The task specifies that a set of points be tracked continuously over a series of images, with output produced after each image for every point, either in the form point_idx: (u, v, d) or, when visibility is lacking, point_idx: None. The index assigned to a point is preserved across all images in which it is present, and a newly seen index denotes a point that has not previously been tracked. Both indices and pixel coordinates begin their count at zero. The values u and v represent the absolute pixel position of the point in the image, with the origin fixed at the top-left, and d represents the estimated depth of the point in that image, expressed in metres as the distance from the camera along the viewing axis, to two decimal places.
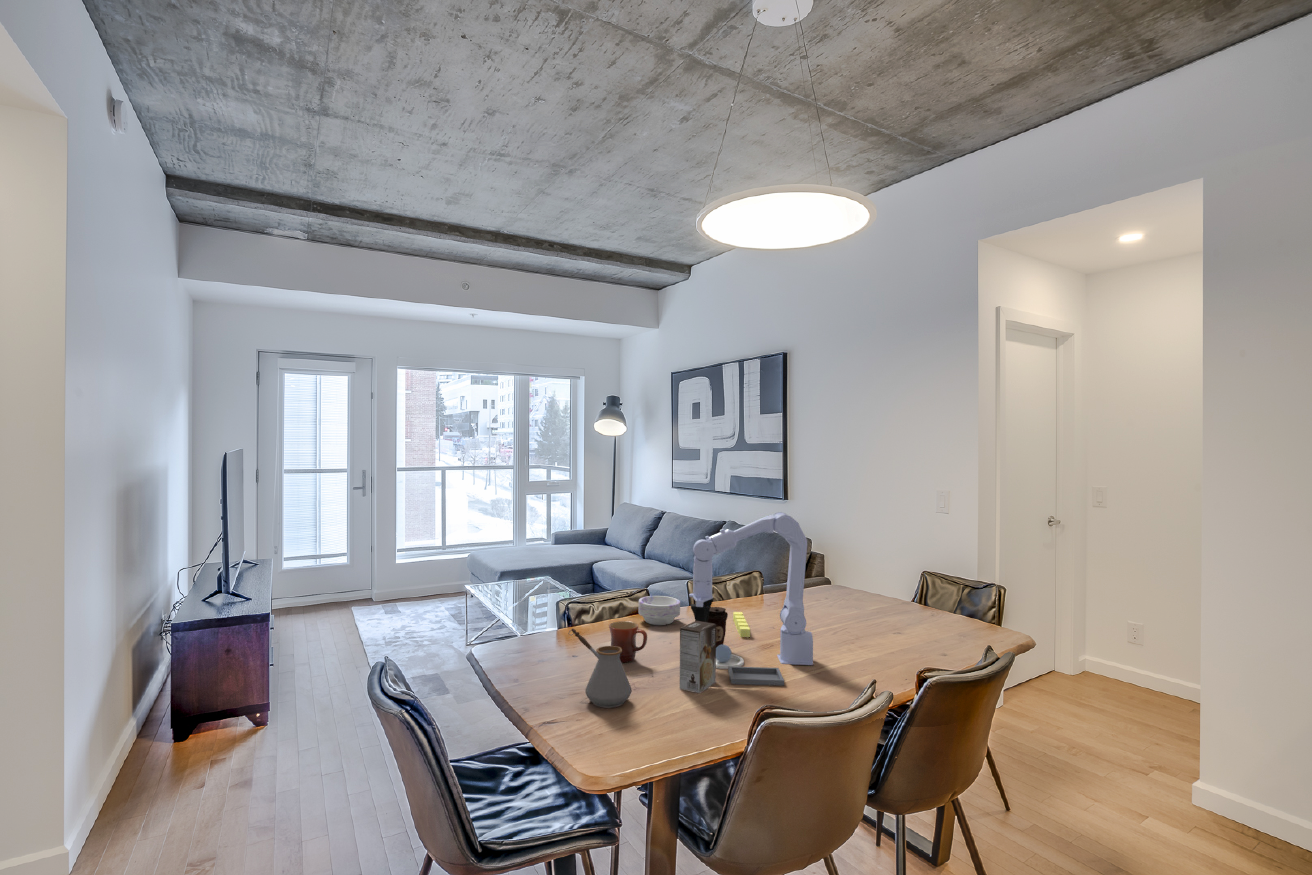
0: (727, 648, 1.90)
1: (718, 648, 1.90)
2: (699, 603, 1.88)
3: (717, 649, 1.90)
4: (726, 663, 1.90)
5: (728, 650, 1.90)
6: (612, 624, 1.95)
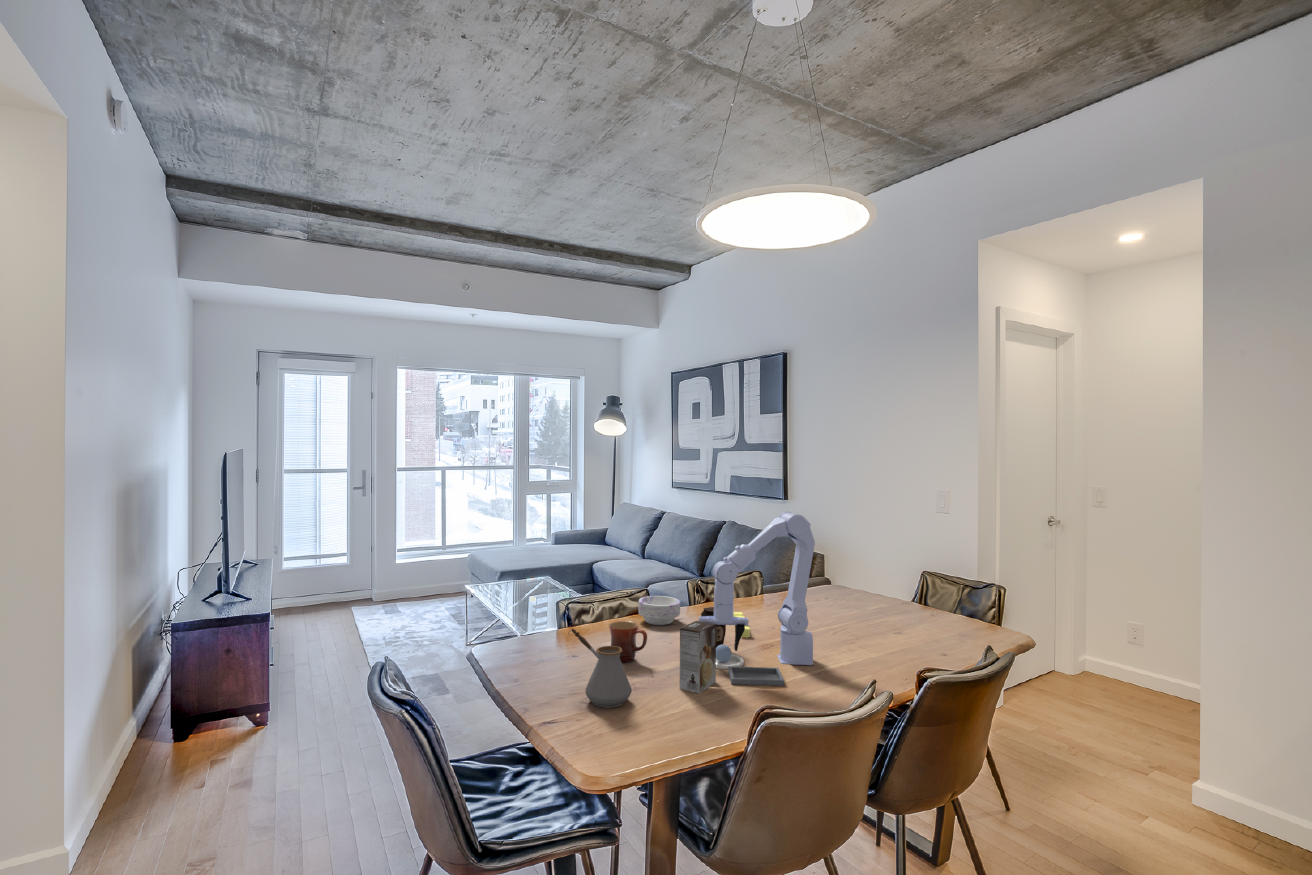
0: (727, 648, 1.90)
1: (718, 648, 1.90)
2: None
3: (717, 649, 1.90)
4: (726, 663, 1.90)
5: (728, 650, 1.90)
6: (612, 624, 1.95)
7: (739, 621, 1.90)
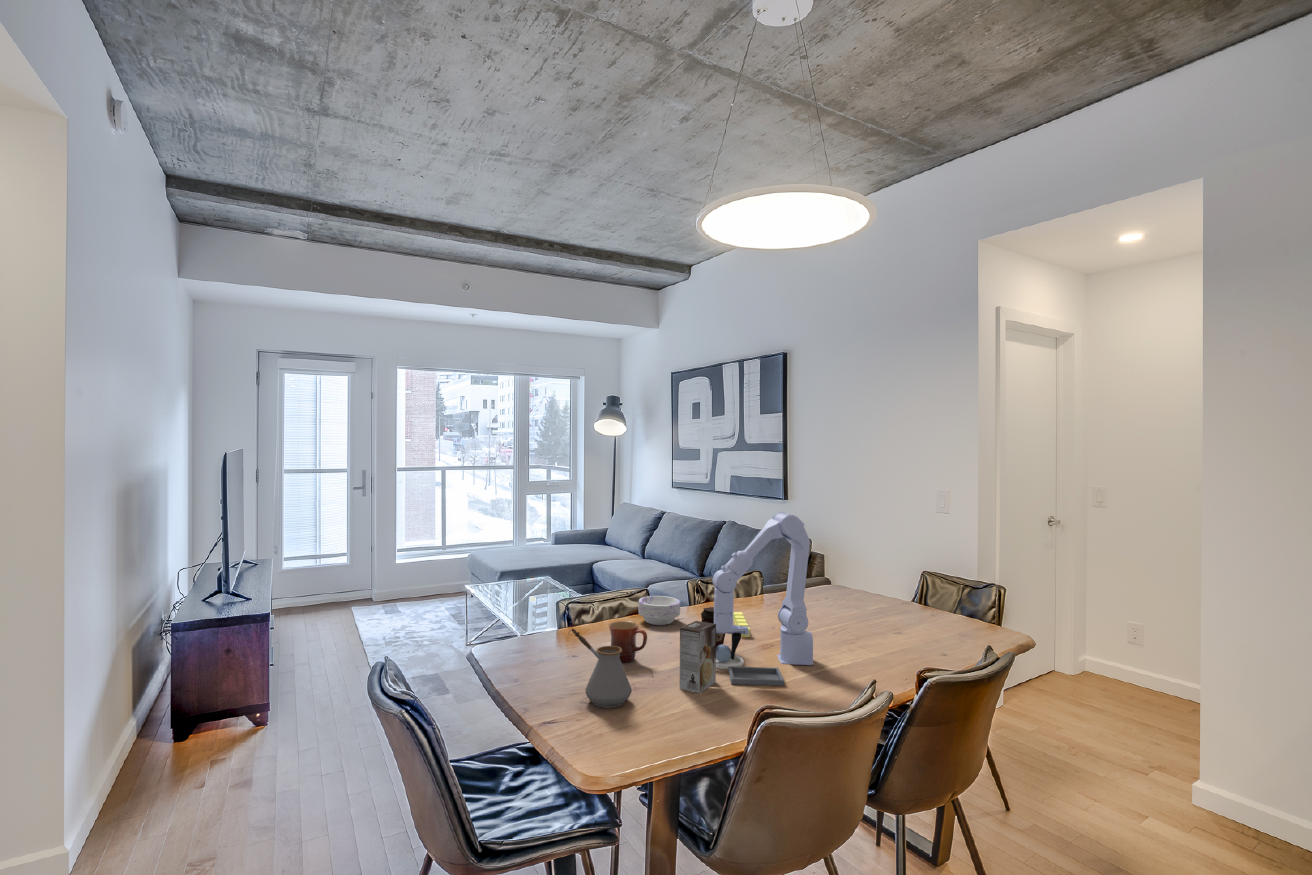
0: (727, 648, 1.90)
1: (718, 648, 1.90)
2: None
3: (717, 649, 1.90)
4: (726, 663, 1.90)
5: (728, 650, 1.90)
6: (612, 624, 1.95)
7: (739, 630, 1.90)
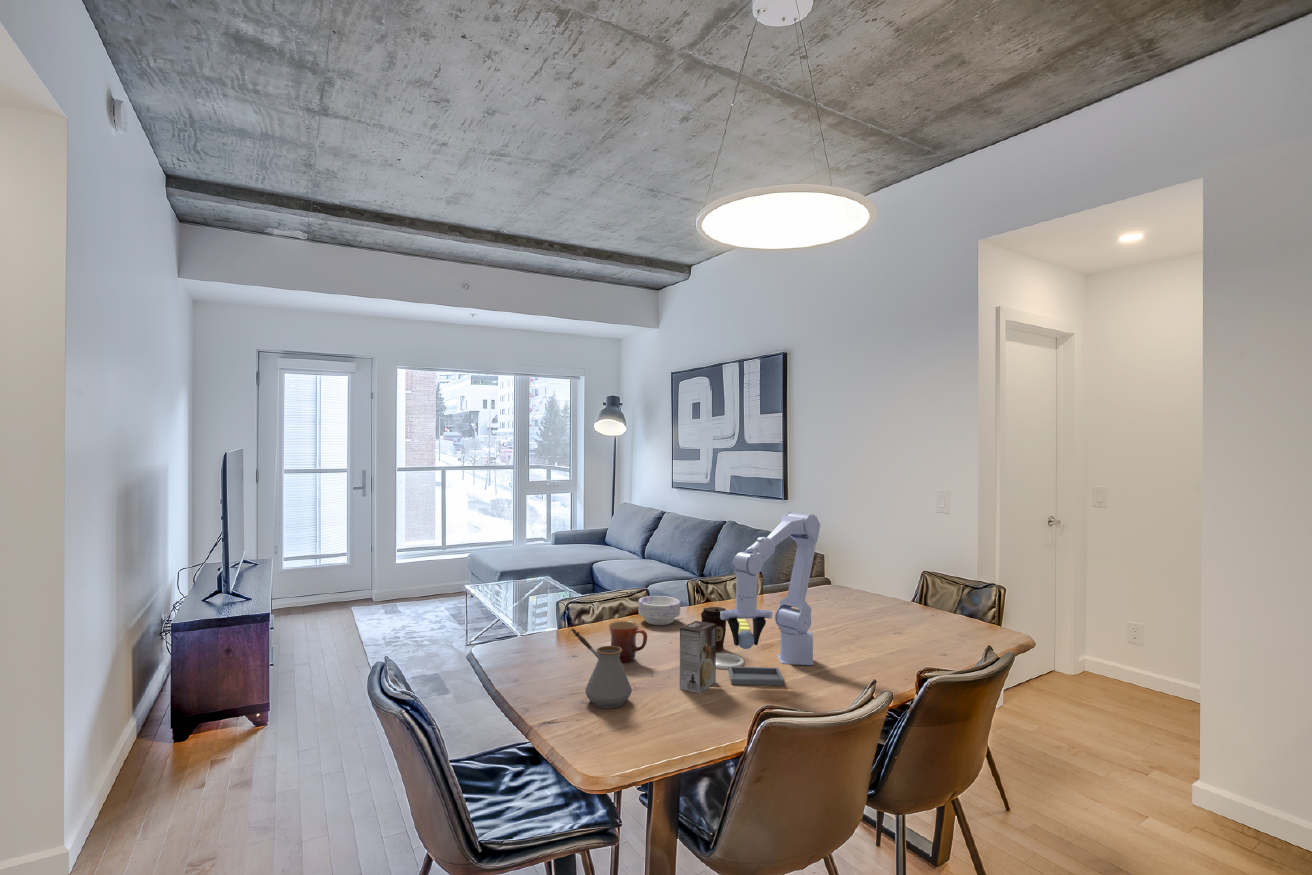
0: (751, 634, 1.81)
1: (742, 634, 1.81)
2: (721, 615, 1.81)
3: (741, 635, 1.81)
4: (726, 663, 1.90)
5: (752, 635, 1.81)
6: (612, 624, 1.95)
7: (763, 614, 1.81)
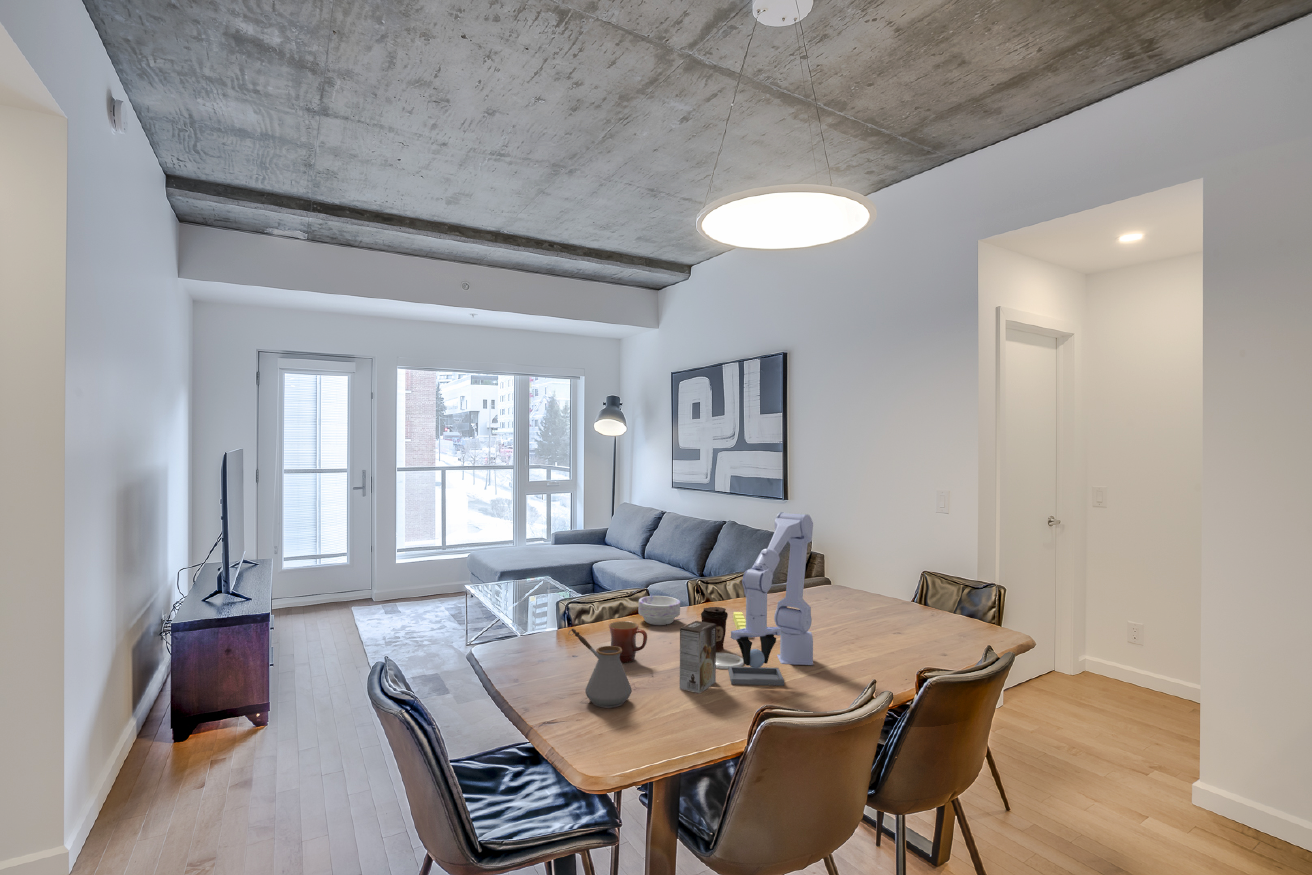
0: (761, 652, 1.78)
1: (753, 653, 1.77)
2: (732, 635, 1.76)
3: (752, 654, 1.77)
4: (726, 663, 1.90)
5: (763, 654, 1.78)
6: (612, 624, 1.95)
7: (773, 631, 1.78)
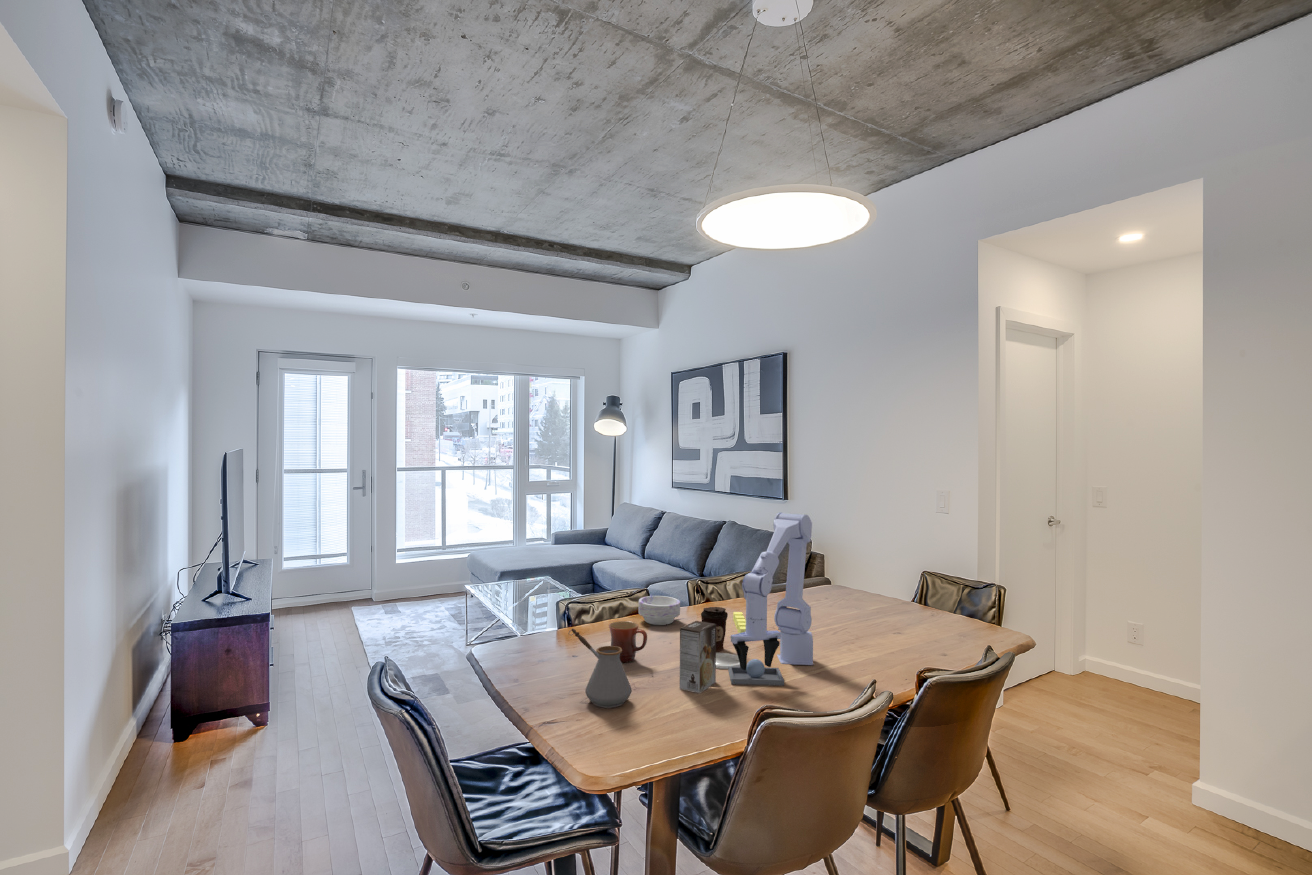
0: (761, 662, 1.78)
1: (753, 663, 1.77)
2: (732, 639, 1.76)
3: (752, 665, 1.77)
4: (726, 663, 1.90)
5: (763, 664, 1.78)
6: (612, 624, 1.95)
7: (773, 635, 1.78)
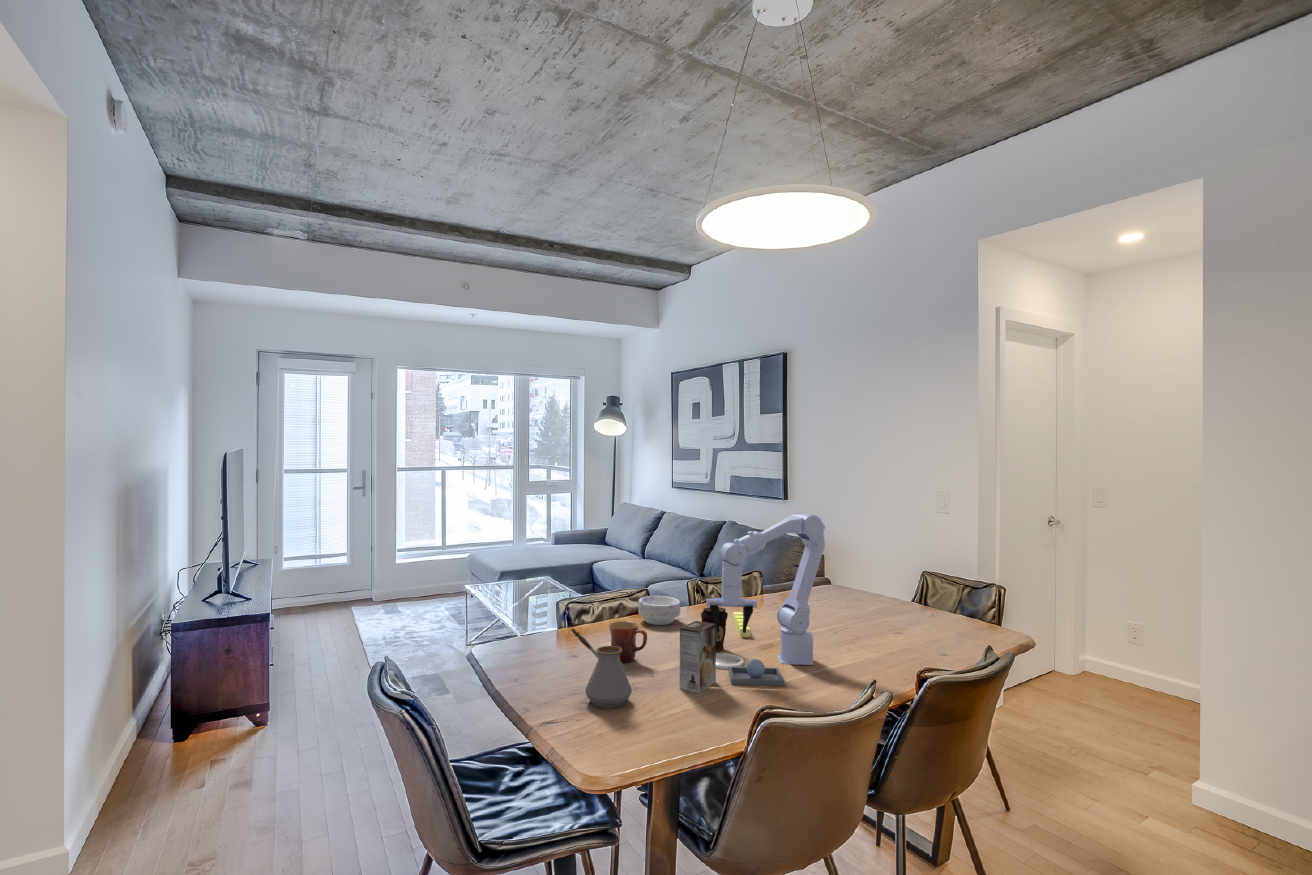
0: (761, 662, 1.78)
1: (753, 663, 1.77)
2: (706, 602, 1.90)
3: (752, 665, 1.77)
4: (726, 663, 1.90)
5: (763, 664, 1.78)
6: (612, 624, 1.95)
7: (747, 603, 1.88)
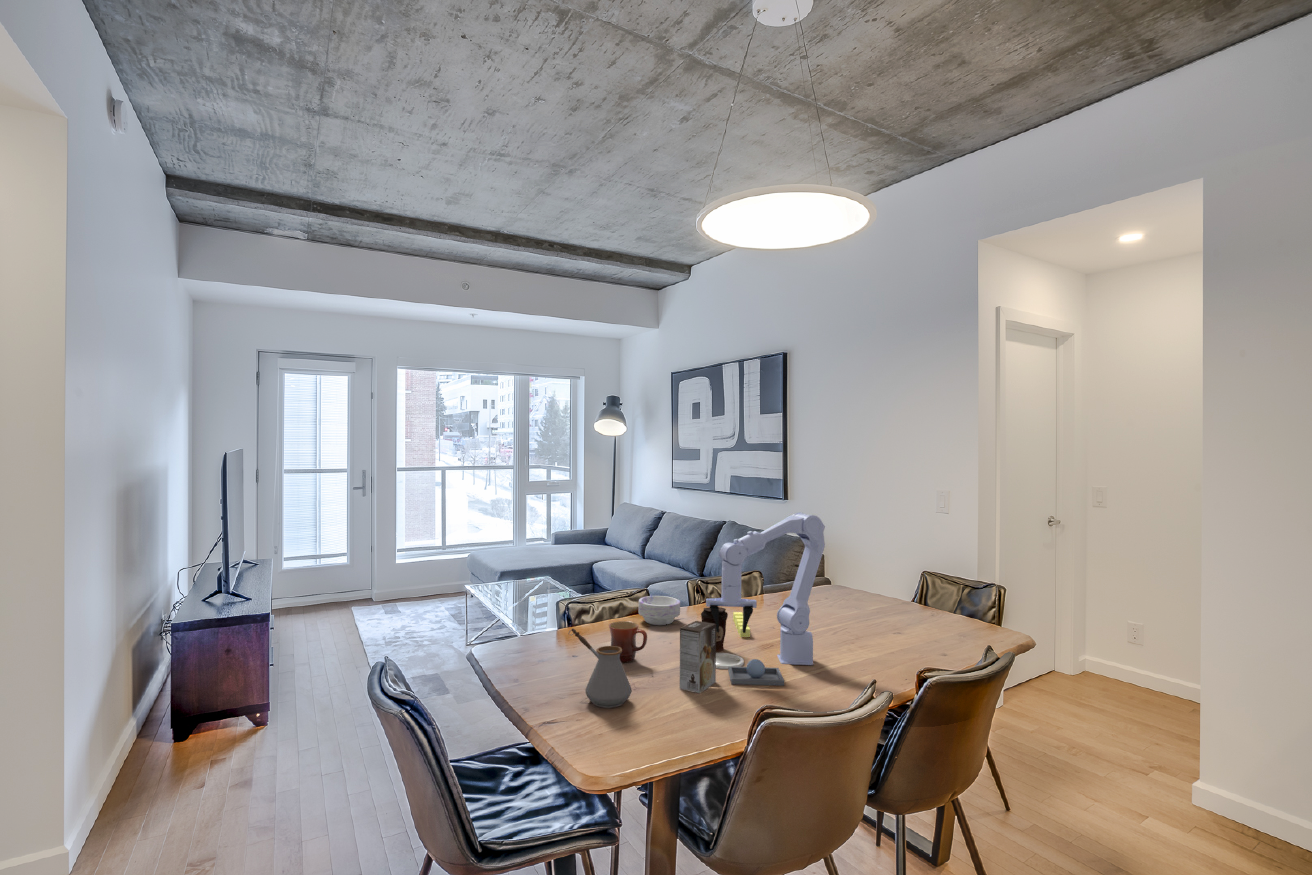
0: (762, 663, 1.78)
1: (753, 663, 1.77)
2: (706, 602, 1.90)
3: (752, 665, 1.77)
4: (726, 663, 1.90)
5: (763, 664, 1.78)
6: (612, 624, 1.95)
7: (747, 603, 1.88)
